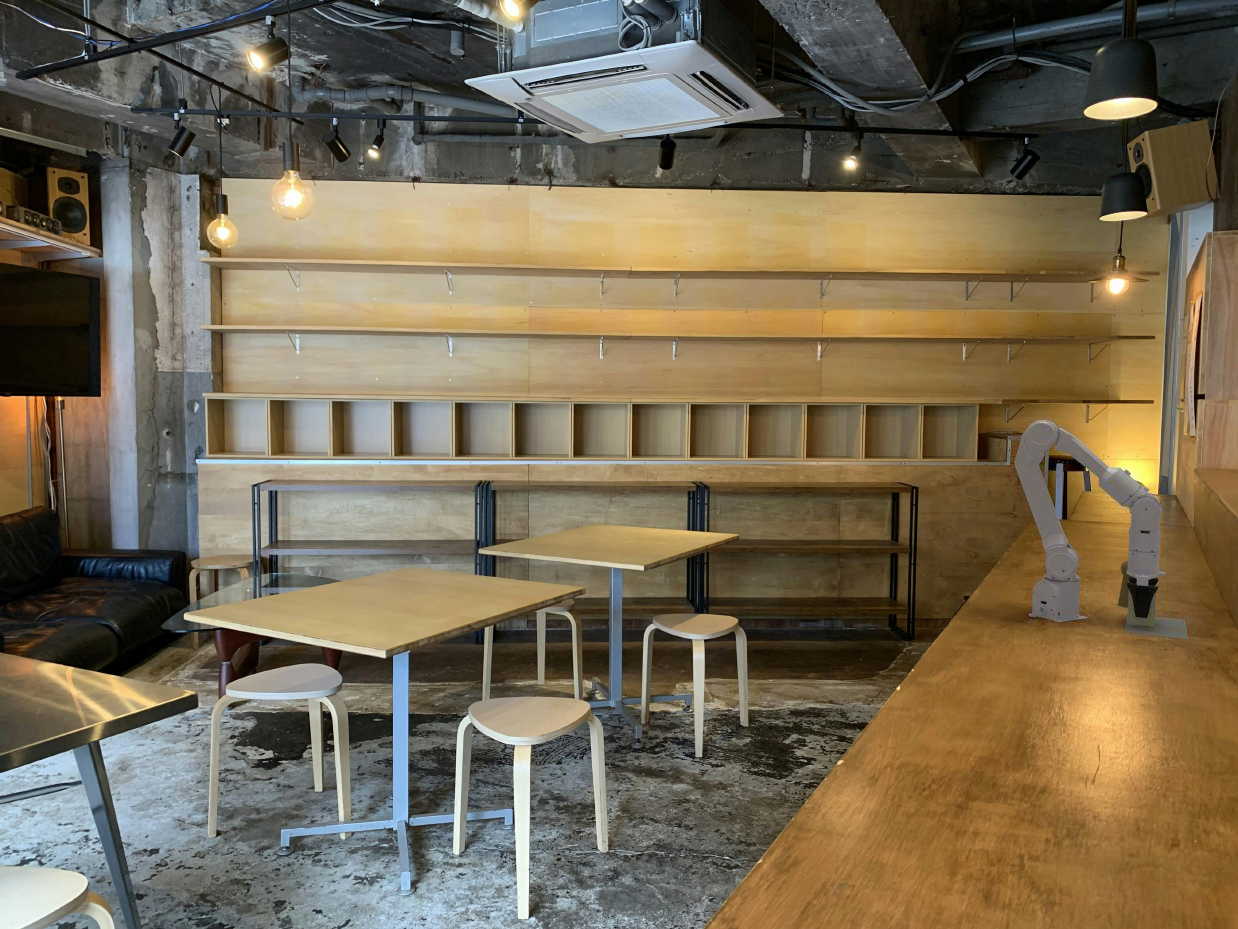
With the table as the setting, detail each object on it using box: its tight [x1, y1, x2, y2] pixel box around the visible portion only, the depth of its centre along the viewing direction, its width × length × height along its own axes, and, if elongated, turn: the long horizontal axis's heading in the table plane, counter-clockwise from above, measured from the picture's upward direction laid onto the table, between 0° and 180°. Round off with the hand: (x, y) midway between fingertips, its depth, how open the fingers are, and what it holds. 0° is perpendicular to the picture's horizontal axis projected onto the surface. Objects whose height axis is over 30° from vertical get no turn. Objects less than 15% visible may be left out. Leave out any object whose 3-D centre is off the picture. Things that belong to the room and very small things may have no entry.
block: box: [1127, 585, 1157, 627], centre depth 189 cm, size 4×5×8 cm
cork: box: [1117, 560, 1132, 609], centre depth 207 cm, size 6×6×11 cm
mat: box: [1123, 612, 1189, 641], centre depth 188 cm, size 20×11×1 cm, turn 149°
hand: (1141, 614), depth 189 cm, fingers open, 7 cm apart
